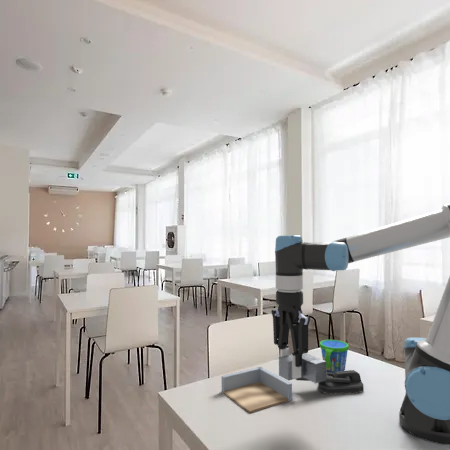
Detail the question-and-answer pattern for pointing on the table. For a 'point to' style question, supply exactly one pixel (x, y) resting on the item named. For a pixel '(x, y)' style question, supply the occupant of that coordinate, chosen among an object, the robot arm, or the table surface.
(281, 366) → the angle bracket
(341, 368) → the snack cup
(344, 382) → the zipper pull
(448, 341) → the robot arm
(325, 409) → the table surface
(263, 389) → the cork mat
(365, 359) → the table surface
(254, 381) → the corner walls
